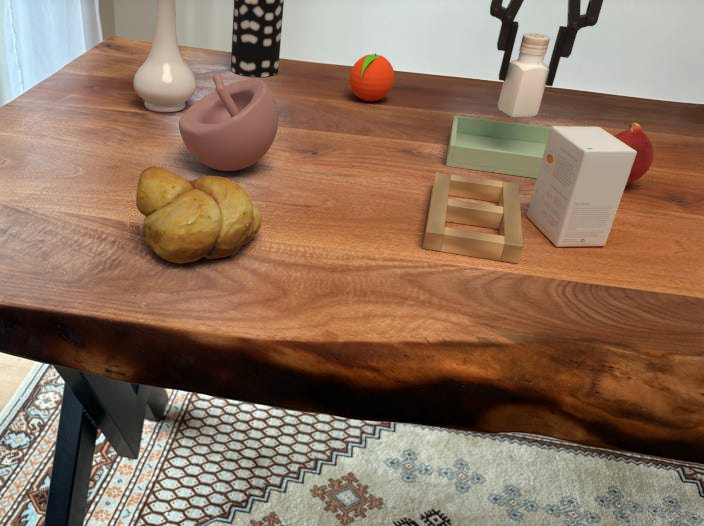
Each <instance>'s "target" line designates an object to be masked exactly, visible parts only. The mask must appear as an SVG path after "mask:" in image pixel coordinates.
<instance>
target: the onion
mask: <svg viewBox="0 0 704 526" xmlns="http://www.w3.org/2000/svg"><path fill="white" fill-rule="evenodd" d="M613 136H614V137H615V138H617V139H618V140H620V141H621V142H623V143H625V144H626V145H628V146H629V147H630V148H632V149H634V150H635V151H637V154H636V157H635V160H634V163H633V165H632V168H631V171H630V174H629V177H628V180H627V183H626V185H630V184H631V183H635V182H636V181H637V180H639V179H640V178H642V177H643V176H644V175H645V174H646V173H647V172H648V171H649V169H650V168H651V166H652V164H653V161H654V148H653V145H652V142H651V141H650V139H649V137H648V136H647V134H646V133H645V132H644V131H643V129H642V128H641V125H640V124H639V123H637V122H632V123H630V124H629V128H628V129H626V130H623V131H620V132H618V133H616V134H615V135H613Z"/></svg>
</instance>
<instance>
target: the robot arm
mask: <svg viewBox="0 0 704 526" xmlns="http://www.w3.org/2000/svg"><path fill="white" fill-rule="evenodd" d="M524 1H525V0H510V1H509V3H508V4H507V7H505V6H504V5H503V3H504V0H491V2H490V6H489V14H490V16H491V17H493V18H496V19H498V20H500V23H501V25H500V29H499V34H498V36H497V37H498V39H497V41H496V42H497V43H496V48H497V51H499V52H500V51H502V52H503V56H502V60H501V65H500V68H499V72H498V81H502V82H504V81H505V79H506V75H507V71H508V67H509V63H510V62H511V59H512V54H513V51H514V46H515V44H516V39H517V36H518V35H517V34H518V30H519V27H520V26H519V21H515V19H516V17H517V15H518V13H519V11H520V9H521V7H522V5H523V3H524ZM581 1H582V0H567V20H566V22H567V23H566V26H565V25H559V27H558V28H559V29H558V31H557V35H556V38H555V42H554V46H553V49H552V53H551V57H550V60H549V63H548V66H547V67H548V68H549V74H548V78H547V82H546V85H545V87H553V85H554V82H555V78H556V75H557V71H558V68H559V64H560V61H561V58H564V59H565V58H566V59H569V57H570V56H571V55H572V53H573V49H574V45H575V42H576V38H577V34H578V32H579V31H580V30H581V29H583V28H587V27H594V26H595V25H597V24H598V21H599V17H600V14H601V11H602V6H603V3H604V0H588V3H587V7H586V10H585V13H583V14H581V6H582V5H581V3H582V2H581Z"/></svg>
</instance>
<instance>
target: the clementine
mask: <svg viewBox="0 0 704 526" xmlns="http://www.w3.org/2000/svg"><path fill="white" fill-rule="evenodd" d="M394 82H395V70H394V67H393V65H392V63H391V62H390V60H388V59H387V58H386V57H385V56H383V55H381V54H377V53H374V54H365V55H364V56H361V57H360V58H359V59H358V60H357V61H356V62H355V63H353V66H352V68H351V70H350V73H349V86H350V89H351V91H352V92H353V94H354V95H355V96H356V97H357V98H358V99H360V100H362V101H365V102H375V101H379V100H381V99H383V98H385V97H386V96H387V94H388V93H389V92H390V91H391V90H392V88H393V85H394Z"/></svg>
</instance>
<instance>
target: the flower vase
mask: <svg viewBox="0 0 704 526" xmlns="http://www.w3.org/2000/svg"><path fill="white" fill-rule="evenodd" d="M153 1H154V3H153V4H154V5H153V8H154V11H153V12H154V14H153V34H152V35H153V36H152V43H151V47H150V50H149V53H148V55H147V58H146V59H145V61H143V63H142V64H141V65H140V66H139V67H138V69H136V72H135V73H134V77H133V82H132V83H133V89H134V91H135V93H136V94H137V95H138V97H139V98H141V99H142V100H143V101H144V102H143V103H144V107H145V108H146V109H147V110H149V111H152V112H156V113H177V112H180V111H183V110H184V109H185V108H186V106H187V104H186V102H187V101H189V100H190V99H191V98H192V97H193V95H195V92H196V90H197V86H198V85H197V84H198V83H197V80H196V75H195V74H194V71H193V70H192V69H191V68H190V66H189V65H188V64H187V63H186V62H185V60H184V59H183V56H182V54H181V51H180V48H179V45H178V37H177V15H176V12H177V11H176V10H177V9H176V8H177V7H176V3H177V2H176V1H177V0H153Z"/></svg>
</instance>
